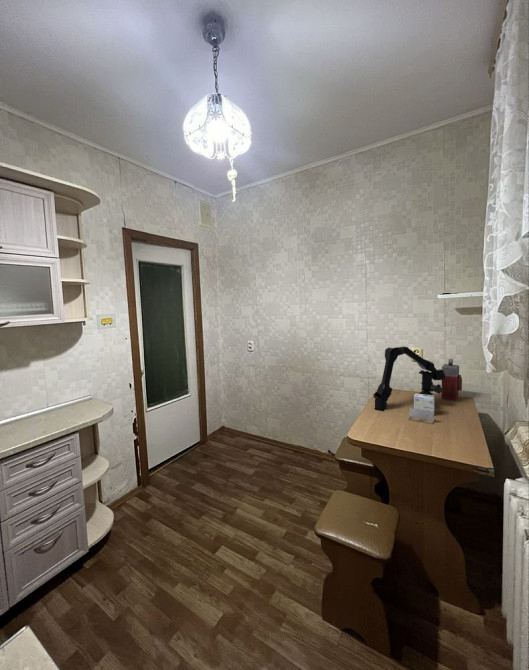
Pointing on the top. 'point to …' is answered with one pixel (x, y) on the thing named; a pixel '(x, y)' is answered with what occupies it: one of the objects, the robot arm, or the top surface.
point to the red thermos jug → (451, 381)
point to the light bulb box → (424, 402)
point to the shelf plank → (421, 420)
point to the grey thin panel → (421, 414)
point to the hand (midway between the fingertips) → (426, 404)
